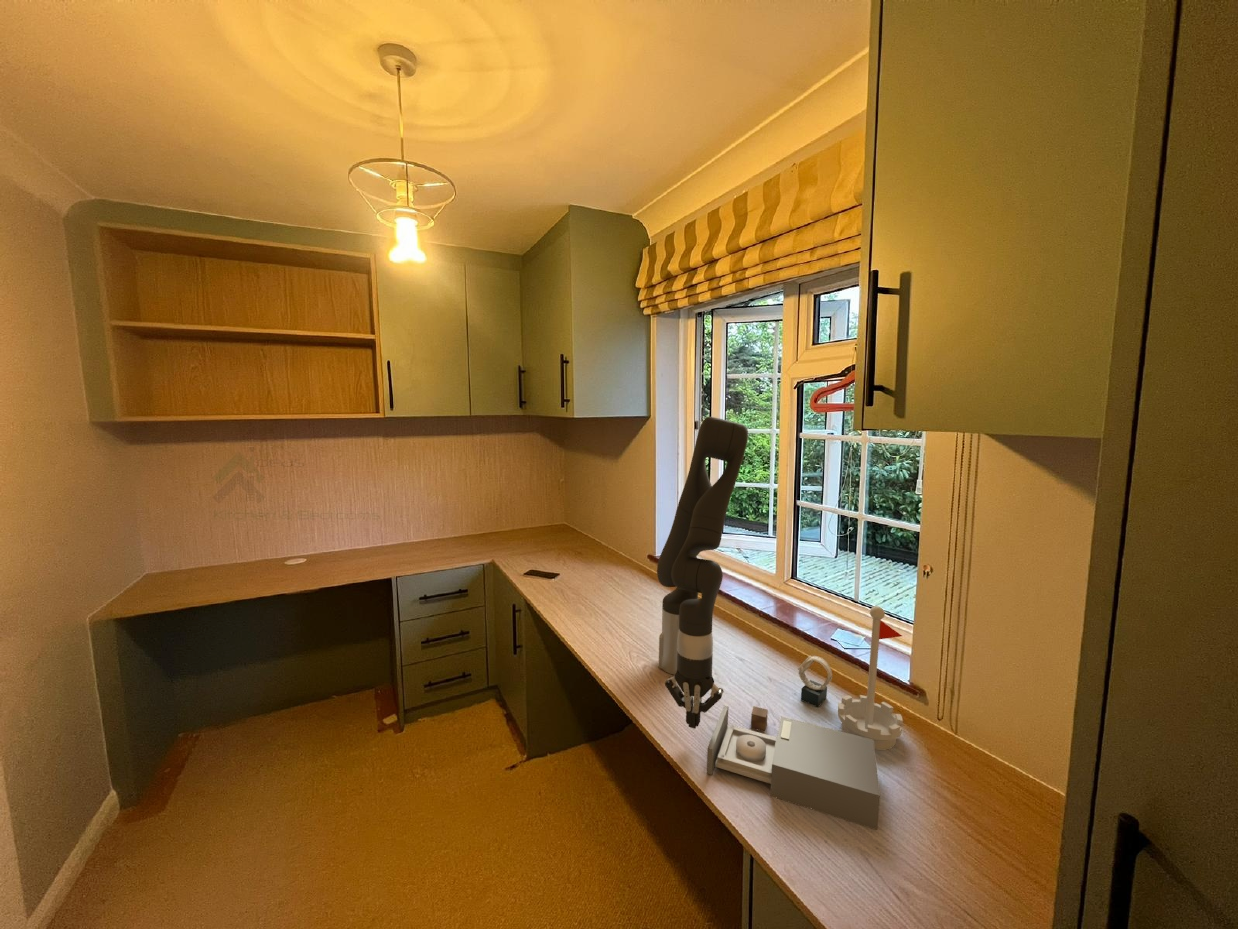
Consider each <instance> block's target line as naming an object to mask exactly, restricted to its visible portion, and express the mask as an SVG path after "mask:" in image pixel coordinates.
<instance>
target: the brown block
mask: <svg viewBox="0 0 1238 929" xmlns="http://www.w3.org/2000/svg"><path fill="white" fill-rule="evenodd" d="M768 712H769V711H768V708H767V709H765V708H762V707H759V706H753V707H752V711H751V716H750V717H751V718H750V728H751V729H752V730H757V731H760V732H764V733H765V732H766V730H767V725H768V714H769V713H768Z"/></svg>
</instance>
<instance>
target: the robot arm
mask: <svg viewBox="0 0 1238 929" xmlns="http://www.w3.org/2000/svg"><path fill="white" fill-rule="evenodd" d="M696 436H697V437H696V441H695V444H694V449H693V453H692V458H691V462H690V464H689V465H690V466H689V470H688V473H687V477H686V480H685V483H684V486H683V489H682V492H681V495H680V497H679V501H678V504H677V507H676V509H675V510H676V511H675V516H674V519H673V522H672V525H671V529H670V532H669V534H668V537H667V539H666V541H665V544H664V546H663V549H662V550H661V553H660V555H659V559H658V561H657V565H656V566H657V567H656V574H657V579H658V582H659V584H660V585H662V586H663V587H664V588H665V587H666V588H675V589H674V590H672V591H671V592H669V593H668V594H666V595H665V596H663V598H662V610H661V611H662V612H661V633H660V634H659V637H658V669H661V670H663V671H664V672H666V673H668V674H669V675H673V676H669V677H668V678H667V680H666V681H665V683H664V685H665V687H666V688H667V691H668V693H669V694H670V695H671V697H672V699H674V701H675V703H676V704H677V706H678V707H680V708H682V707H683V708H684V709H685V723H686V725H688V728H690V729H696V728H697V727H699V725H700V722H701V713H707V712H708V711H710V709H711V708H712V707H713V706H715V705H716V704H717V703H718V702H719V701H720V700H721V699H722V696H723V694H724V692H725V691H724V689H723V688H722V687H718V686H717V685H716V684H715V680H714V677H713V654H714V653H713V652H714V637H713V618H714V617H713V615H714V613H713V612H714V609H715V605H716V604H715V603H716V601H717V596H718V595H719V594H718V593H719V591H720V588H721V585H722V582H723V575H724V574H723V570H722V567H721V566H720V564H719V563H718V562H717V561H715V560H710V559H705V558H699V557H698V555H699V554H700V553H701V552H705V551H715V550H717V549H718V548H719V547H720V545H721V541H722V535H723V531H724V527H725V526H724V525H725V522H726V521H725V520H726V516H727V512H728V507H729V504H730V500H731V498H732V497H731V496H732V494H733V491H734V488H735V486H736V482H737V479H738V478H739V477H738V476H739V473H740V469H741V467H742V463H743V459H744V457H745V453H746V449H747V444H748V440H749V430H748V427H747V426H746V425H745V424H742V423H739V422H735V421H730V420H728V419H727V420H726V419H723V418H718V417H714V416H706V417H705V418H704V419H703V420H702V422H701V424H700V426H699V429H698V432H697V435H696ZM706 458H711V459H715V460H719V461H723V462H726V465H725V468H724V471H723V472H722V474H721V475H720V477H719V478H718V479H717V481H716V482H715V483H714V484H713V485H712V484H711V480H710V477H709V474H708V471H707V470H708V469H707V463H706ZM699 594H701V598H699ZM710 690H711V691H710ZM709 691H710V696H709V697H708V698H706V700H705V701H704V702H703V697H704V696H706V695H707V693H708V692H709Z"/></svg>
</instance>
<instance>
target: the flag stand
mask: <svg viewBox="0 0 1238 929" xmlns="http://www.w3.org/2000/svg"><path fill="white" fill-rule="evenodd" d="M869 614H870V616H871V617H872V624H871V625H872V626H871V627H872V628H871V639H870V652H869V653H870V654H869V664H868V665H869V666H868V678H867V679H868V680H867V694H866V695H862V694H859V699H858V698H857V699H856V698H853V697H852V696H851V695H845V696H843V697H841V702H837V717H838V719H839V721H840V723H841V730H842V732H845V733H849V734H853V735H857V736H861V737H865V738H869V739H873V740H874V746H875V751H876V750H877V751H884V750H885V751H886V750H890V749H892V748H893V747H894V746H895V745H896V740H897V739H898V738H899V737H900V736H901V735H902V733H903V724H904V720H903V716H902V714H901V713H895V712H894V707H893V706H892V705H891V704H889V703H888V702H886V701H882V702H880V704H879V703H877V702H875V696H876V683H877V671H878V657H879V645H880V640H886V639H892V638H899V637H903V635H902V634H901V633H899V632H898V631H896V630H895V629H894V628H893V627H891V626H889V625H888V624H886V623H885V621H882V620H883V619H884V617H885V615H886V613H885V610H884V609H883V607H881V606H878V605H875V606H874V605H873V606H872V607H871V608H870V609H869Z"/></svg>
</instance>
